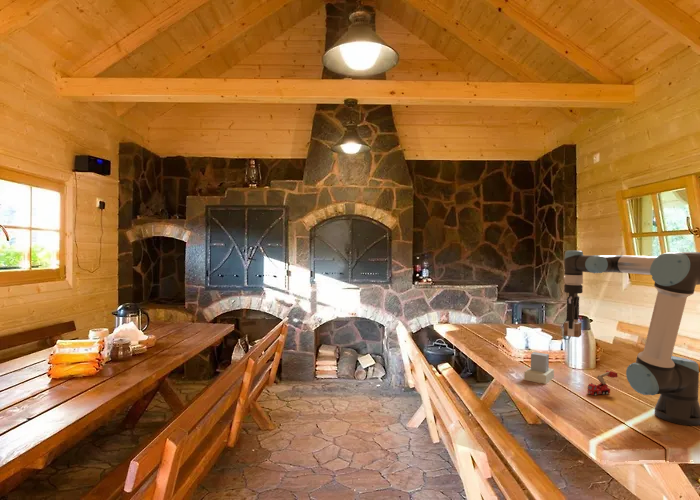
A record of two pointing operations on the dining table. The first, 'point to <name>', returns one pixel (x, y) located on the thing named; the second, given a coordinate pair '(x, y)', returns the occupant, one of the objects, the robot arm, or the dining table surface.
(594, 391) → the toy fire truck
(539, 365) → the block
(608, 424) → the dining table surface
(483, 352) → the dining table surface
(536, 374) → the plinth
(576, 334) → the block
